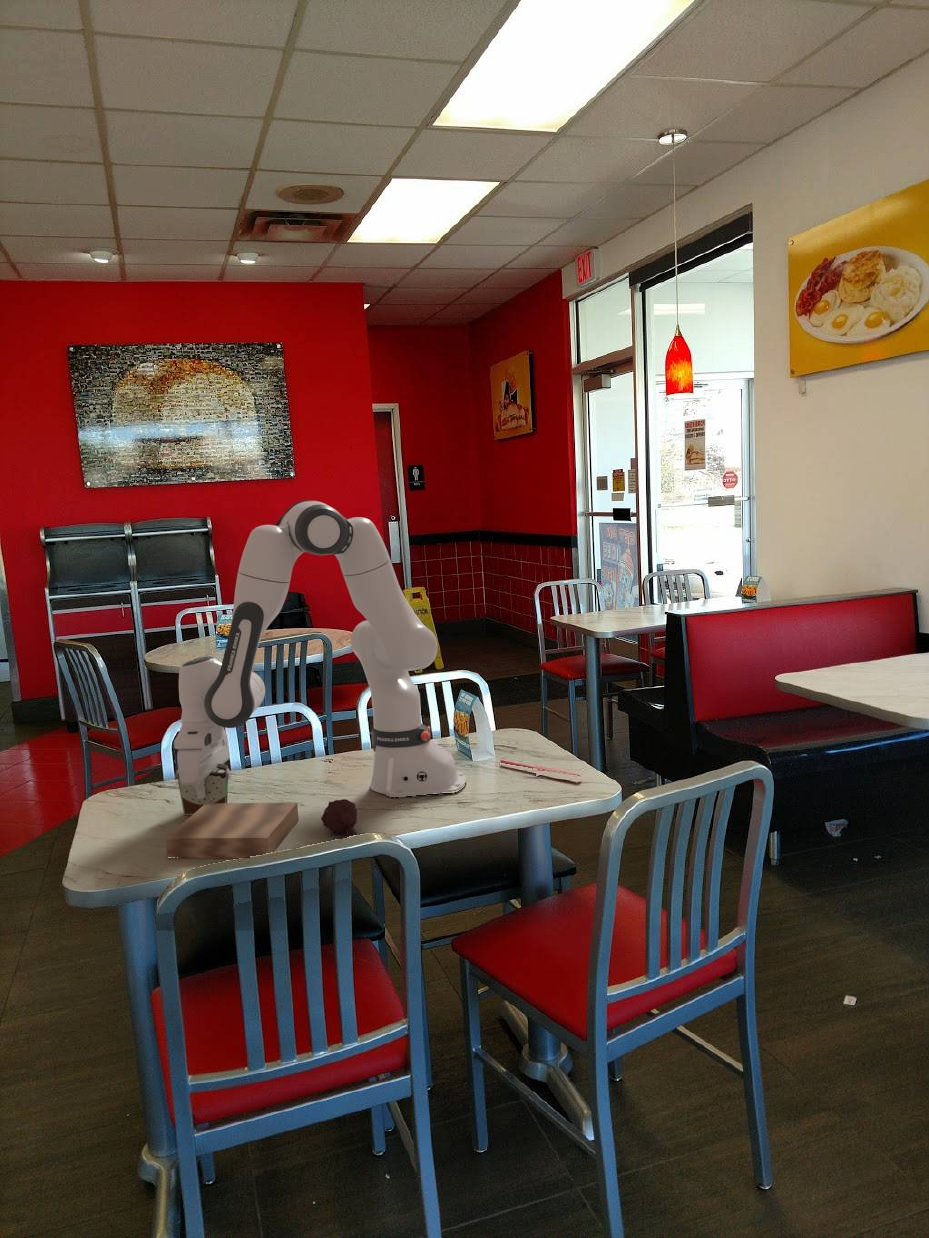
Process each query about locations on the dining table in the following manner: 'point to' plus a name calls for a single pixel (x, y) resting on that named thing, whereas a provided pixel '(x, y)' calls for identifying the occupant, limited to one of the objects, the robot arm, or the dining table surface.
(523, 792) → the dining table surface
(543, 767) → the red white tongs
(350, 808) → the icecream
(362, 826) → the dining table surface
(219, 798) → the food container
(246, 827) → the walnut block
